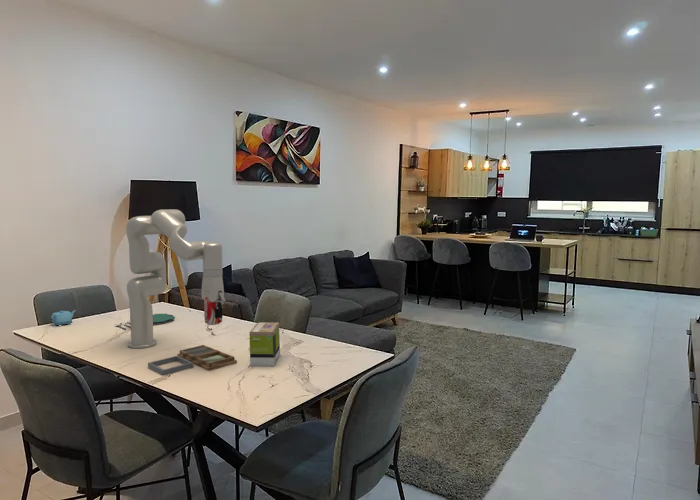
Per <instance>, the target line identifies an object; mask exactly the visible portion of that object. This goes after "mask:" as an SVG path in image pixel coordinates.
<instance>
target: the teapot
mask: <svg viewBox="0 0 700 500" xmlns="http://www.w3.org/2000/svg"><path fill="white" fill-rule="evenodd" d="M75 312H76V309H75V310H73V311H71V312H70V311H69V310H60V311H56V312H52V315H51V319H52V323H53V325H56V326H59V325H62V326H63V325H66V324H72V323H73V319H72V318H73V317H74V313H75Z"/></svg>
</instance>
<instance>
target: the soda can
mask: <svg viewBox="0 0 700 500" xmlns="http://www.w3.org/2000/svg"><path fill="white" fill-rule="evenodd" d="M218 300H220V299H217V301H218ZM219 303H220V302H217V304H219ZM203 307H204V308H203V312H204V316H203V317H204V323H205V324H206V325H208V326H217V325H219V324H221V323H222V322H223V317H222V318H217V319H216V318H215V309H216V307H215V302H210V300H209V299H208V297H206V298H205V299H204V301H203Z"/></svg>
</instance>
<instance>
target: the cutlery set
mask: <svg viewBox="0 0 700 500" xmlns="http://www.w3.org/2000/svg"><path fill="white" fill-rule="evenodd" d="M175 318H176V316H175V315H173V314H168V313H154V314H153V325H155V324H162V323H166V322H169V321H174V320H175ZM122 323H123V322H121V323H119V325H118V324H116V325H117V326H115V328H119V327H120V328H119V329H121V328H122V329H121V330H123V331H126V330H127V327H128V328H130V329H131V324H130V322H129V321H127V322H124V323H125V324H122ZM128 323H129V325H128ZM120 324H121V325H124V326H123V327H122V326H121V325H120ZM126 324H127V325H126ZM125 327H126V328H125Z"/></svg>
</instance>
